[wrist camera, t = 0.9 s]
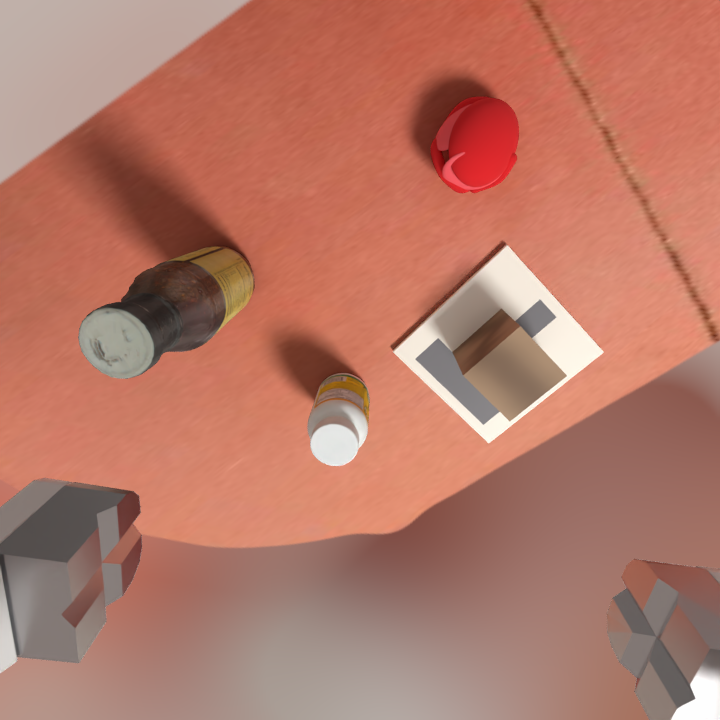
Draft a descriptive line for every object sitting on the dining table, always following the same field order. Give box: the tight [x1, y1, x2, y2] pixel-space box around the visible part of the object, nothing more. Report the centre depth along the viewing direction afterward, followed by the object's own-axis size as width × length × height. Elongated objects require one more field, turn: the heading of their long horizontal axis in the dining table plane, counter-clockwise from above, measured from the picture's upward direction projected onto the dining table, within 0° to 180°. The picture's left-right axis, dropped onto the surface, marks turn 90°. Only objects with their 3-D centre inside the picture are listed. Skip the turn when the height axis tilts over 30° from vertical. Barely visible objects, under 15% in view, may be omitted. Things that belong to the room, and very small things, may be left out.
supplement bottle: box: [308, 373, 370, 466], centre depth 41 cm, size 5×5×10 cm
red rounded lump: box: [431, 97, 519, 193], centre depth 35 cm, size 8×6×6 cm
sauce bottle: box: [78, 246, 255, 379], centre depth 33 cm, size 6×6×20 cm
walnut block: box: [453, 309, 567, 421], centre depth 40 cm, size 6×6×6 cm
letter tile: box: [393, 245, 604, 443], centre depth 43 cm, size 14×14×1 cm
